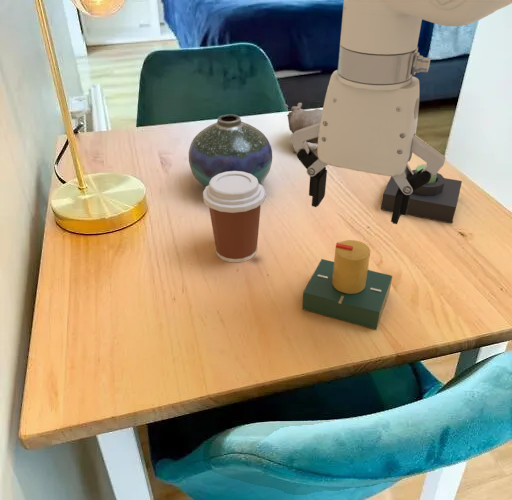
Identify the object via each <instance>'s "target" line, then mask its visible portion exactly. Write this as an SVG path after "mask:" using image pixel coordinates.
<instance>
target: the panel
mask: <svg viewBox="0 0 512 500" xmlns="http://www.w3.org/2000/svg"><path fill="white" fill-rule="evenodd" d="M333 267H334V260H333V261H332V260H329V259H324V258H321V260H320V261H319V263H318V264H317V266H316V268H315V271H314V272H313V274H312V275H311V277H310V279H309V281H308V283H307V284H306V286H305V288H304V290H303V292H302V307H301V310H303V311H306V312H311V313H315V314H318V315H322V316H325V317H329V318H332V319H336V320H339V321H342V322H343V321H344V322H347V323H351V324H354V325H358V326H361V327H364V328H369V329H373V330H376V331H377V330H378V327H379V324H380V321H381V319H382V315H383V312H384V309H385V306H386V303H387V302H388V297H389V295H390V292H391V285H392V279H393V275H391V274H388V273H382V272H379V271H374V270H370V269H368V272H367V279H366V286H365V288H364V289H363V290H362V291H361V292H359V293H355V294H347V293H343V292H340V291H338V290H337V289H335V288H334V286H333V284H332V277H333Z"/></svg>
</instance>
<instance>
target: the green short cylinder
mask: <svg viewBox="0 0 512 500" xmlns="http://www.w3.org/2000/svg"><path fill="white" fill-rule="evenodd" d="M426 165H427V164H420V165H417V166H416V167H415V170H416V171H415V173H416V172H418V171H419V170H421V169H423V168H424V167H425V166H426ZM437 173H438V172H437ZM437 173H436V174H435V175H434V176H433V177H432V178H431V179H430V181H429V182H428V183H426V184H429V183H434V182H435V181H436V177H437Z"/></svg>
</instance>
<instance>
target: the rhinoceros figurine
mask: <svg viewBox="0 0 512 500" xmlns="http://www.w3.org/2000/svg"><path fill="white" fill-rule="evenodd" d="M284 106H285V107H286V108H289V106H288V104H287V103H286V104H284ZM302 107H303V103H302V102H298V103H297V106H295V105H294V106H293V105H292V107H291V108H290V109H291V111H289V112H288V113H287V115H286V116H287V121H288V129H289V130H290V131H291V135H292V134H293V133H294V132H295V131H297V130H300V129H303V128H306V127H309V126H311V125H314V124H317V123H320V122H321V117H322V111H323V109H320V108H315V109H311V110H310V109H309V110H305V109H303V108H302ZM306 142H307V143H309V144H314V145H316V146H317V145H318V137H316V138H313V139H310V140H307V141H306ZM293 153H297V152H296V151H295V149H294V150H293ZM313 153H314V154H315V155H316V156H317V157H318V155H317V147H316V148H315V149H314V150H313Z"/></svg>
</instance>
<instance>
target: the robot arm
mask: <svg viewBox="0 0 512 500" xmlns="http://www.w3.org/2000/svg"><path fill="white" fill-rule="evenodd" d="M511 4H512V0H343V4H342V5H343V6H342V17H341V28H340V38H339V39H340V40H339V51H338V60H337V69H336V70H334V71H333V72H332V73H331V75H330V78H329V82H328V85H327V89H326V93H325V96H324V100H323V101H324V102H323V107H322V110H323V111H322V117H321V122H320V123H317V124H314V125H311V126H309V127H306V128H303V129H300V130H297V131H295V132H294V133H293V134H292V133H291V135H290V136H289V139H290V142H291V144H292V146H293V149H294V150H295V151H296V152H295V153H296V159H298V160H299V162H300V163H301V164H302V166H303V167H304V168H305V169H306V174H307V175H308V176H309V187H308V196H309V197H311V207H314V208H316V207H319V205H320V204H321V203H322V201H323V200H324V198H325V197H326V196H325V195H326V188H327V187H326V186H327V175H328V170H327V166H332V167H337V168H341V169H345V170H352V171H356V172H362V173H366V174H373V175H378V176H385V177H391V176H392V177H393V179H394V180H395V182H396V183H397V185H398V186H399V189H398V191H397V193H396V197H395V202H394V208H393V212H391V213H392V214H391V219H390V222H391V223H392V224H393V225H398V223H399V220H400V218H401V216H407V211H408V206H409V201H410V196H411V193H412V192H413V191H414V190H416V189H418V188H419V187H421V186H423V185H424V184H426V183H428V182H429V181H430V179H431V178H432V177H433V176H434V175H435V174H436V173H439V171H440V170H441V169H442V167H444V165H445V162H446V156H445V155H444V154H442V153H441V152H439V151H438V150H437V149H436V148H434V147H432V146H431V145H430V144H428V143H427V142H425V141H424V140H423V139H421V138H419V137H418V136H417V135H416V134H417V129H418V128H417V127H418V119H419V109H420V93H421V92H420V80H419V78H418V77H416V76H415V75H416V74H420V73H428V72H429V69H430V64H431V57H424V56H423V55H420V52H419V46H418V44H419V38H420V33H421V27H422V21H426V22H429V23H432V24H436V25H441V26H445V27H461V26H467V25H471V24H474V23H476V22H478V21H480V20H482V19H485V18H487V17H488V16H490V15H492V14H494V13H495V12H496V11H498V10H501V9H503V8H505V7H507V6H509V5H511ZM316 137H318V145H317V144H316V148H317V155H318V157H317V156H316V155H315V154H314V153H313V152H314V150H312V149H311V148H310V146H308V142H306V141H307V140H310V139H313V138H316ZM413 154H414V155H415V156H417V157H418V158H420V159H421V160H423V162H425V165H426V166H425V167H424V168H423V169H421V170H419V171H418V172H416V173H413V172H412V170H413V169H412V168H411V167H410V165H409V164H408V163H409V162H410V161H411V159H412V156H413Z"/></svg>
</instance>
